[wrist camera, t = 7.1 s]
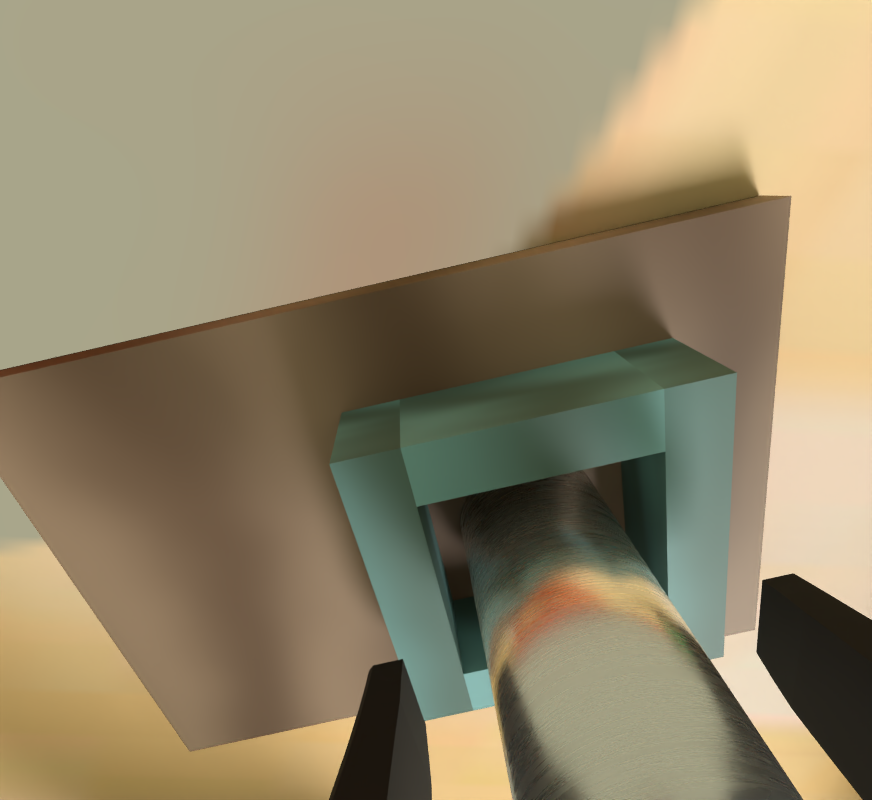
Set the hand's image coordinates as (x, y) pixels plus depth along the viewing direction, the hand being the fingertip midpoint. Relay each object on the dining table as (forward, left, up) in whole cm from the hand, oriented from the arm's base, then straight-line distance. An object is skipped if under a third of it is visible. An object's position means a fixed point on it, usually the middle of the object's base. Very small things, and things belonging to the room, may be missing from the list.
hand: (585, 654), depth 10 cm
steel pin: (0, 0, -5) cm, 5 cm away
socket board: (-3, 0, -6) cm, 6 cm away
